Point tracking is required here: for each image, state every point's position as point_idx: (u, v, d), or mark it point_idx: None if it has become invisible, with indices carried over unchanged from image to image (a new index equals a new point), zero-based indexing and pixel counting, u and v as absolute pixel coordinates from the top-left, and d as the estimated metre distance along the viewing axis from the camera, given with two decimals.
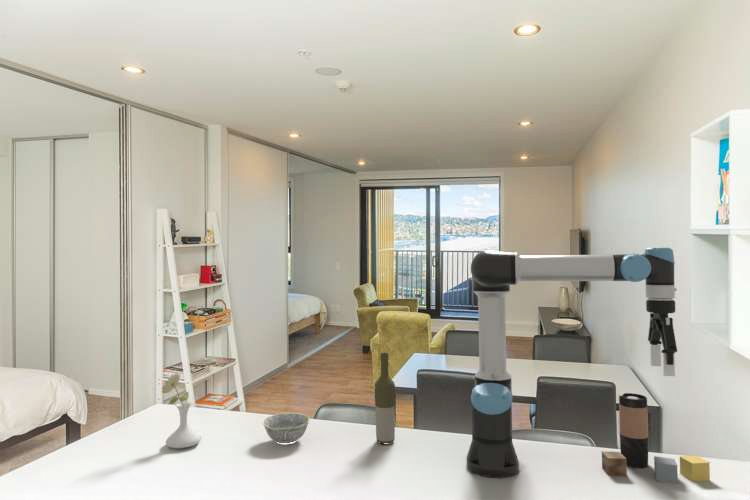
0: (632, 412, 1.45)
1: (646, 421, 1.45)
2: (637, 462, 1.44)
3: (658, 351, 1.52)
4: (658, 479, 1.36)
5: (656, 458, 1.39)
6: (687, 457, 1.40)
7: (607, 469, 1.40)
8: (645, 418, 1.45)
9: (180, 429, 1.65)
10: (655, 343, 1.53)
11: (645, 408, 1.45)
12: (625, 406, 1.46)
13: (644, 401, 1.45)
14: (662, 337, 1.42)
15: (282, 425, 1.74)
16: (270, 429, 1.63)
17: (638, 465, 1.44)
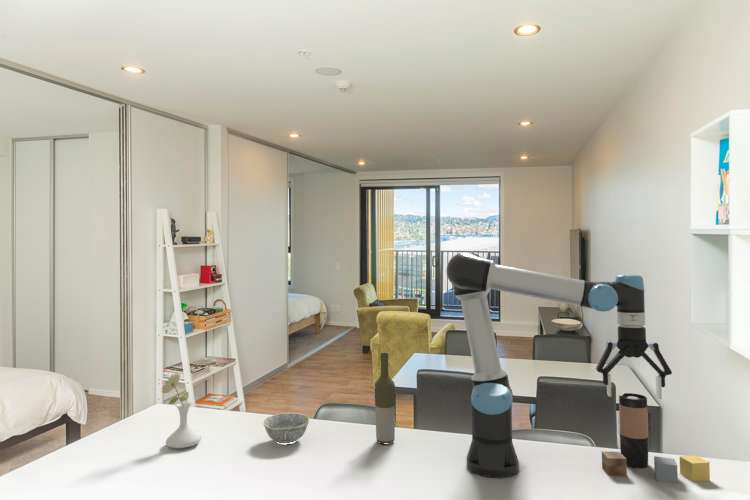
0: (632, 412, 1.45)
1: (646, 421, 1.45)
2: (637, 462, 1.44)
3: (657, 383, 1.46)
4: (658, 479, 1.36)
5: (656, 458, 1.39)
6: (687, 457, 1.39)
7: (607, 469, 1.40)
8: (645, 418, 1.45)
9: (180, 429, 1.65)
10: (659, 374, 1.46)
11: (645, 408, 1.45)
12: (625, 406, 1.46)
13: (644, 401, 1.45)
14: None
15: (282, 425, 1.74)
16: (270, 429, 1.63)
17: (638, 465, 1.44)
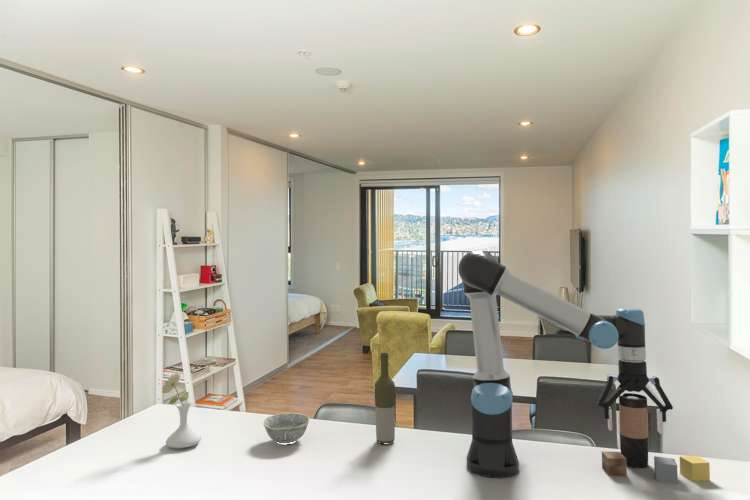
0: (632, 412, 1.45)
1: (646, 421, 1.45)
2: (637, 462, 1.44)
3: (658, 417, 1.45)
4: (658, 479, 1.36)
5: (656, 458, 1.39)
6: (687, 457, 1.40)
7: (607, 469, 1.40)
8: (645, 418, 1.45)
9: (180, 429, 1.65)
10: (660, 409, 1.46)
11: (645, 408, 1.45)
12: (625, 406, 1.46)
13: (644, 401, 1.45)
14: (612, 393, 1.51)
15: (282, 425, 1.74)
16: (270, 429, 1.63)
17: (638, 465, 1.44)
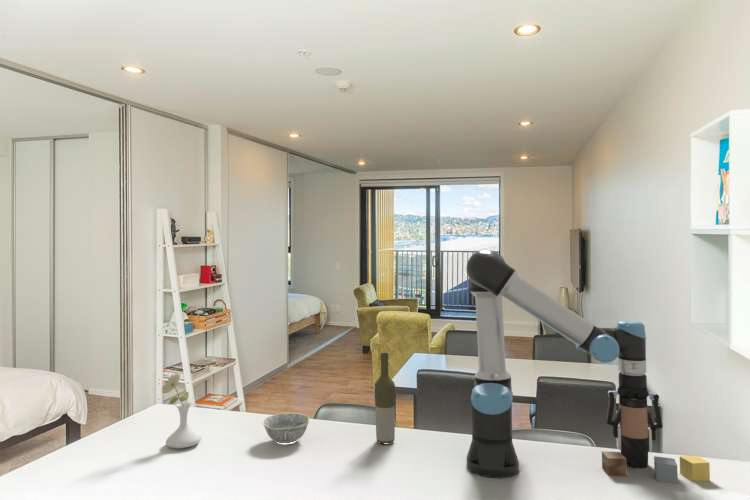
0: (632, 412, 1.45)
1: (646, 421, 1.45)
2: (637, 462, 1.44)
3: (648, 436, 1.46)
4: (658, 479, 1.36)
5: (656, 458, 1.39)
6: (687, 457, 1.39)
7: (607, 469, 1.40)
8: (645, 418, 1.45)
9: (180, 429, 1.65)
10: (650, 426, 1.47)
11: (645, 408, 1.45)
12: (625, 406, 1.46)
13: (644, 401, 1.45)
14: (617, 410, 1.50)
15: (282, 425, 1.74)
16: (270, 429, 1.63)
17: (638, 465, 1.44)
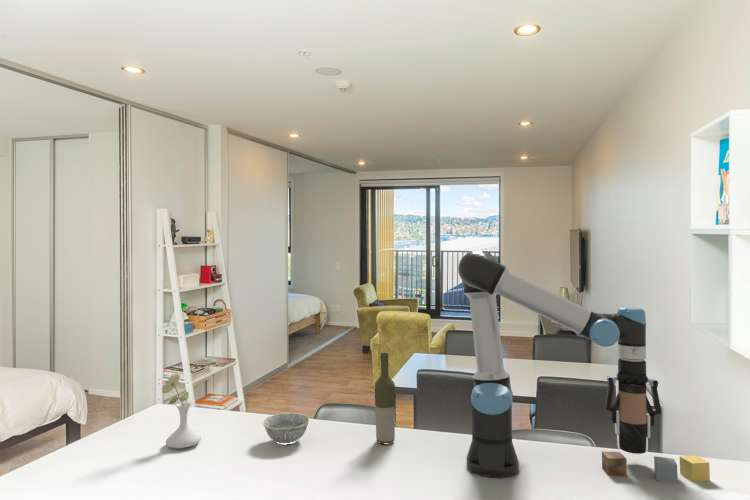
0: (631, 397, 1.45)
1: (645, 407, 1.45)
2: (635, 448, 1.44)
3: (647, 421, 1.46)
4: (658, 479, 1.36)
5: (656, 458, 1.39)
6: (687, 457, 1.40)
7: (607, 469, 1.40)
8: (644, 403, 1.45)
9: (180, 429, 1.65)
10: (648, 412, 1.47)
11: (644, 394, 1.45)
12: (624, 392, 1.46)
13: (643, 387, 1.45)
14: None
15: (282, 425, 1.74)
16: (270, 429, 1.63)
17: (636, 450, 1.44)
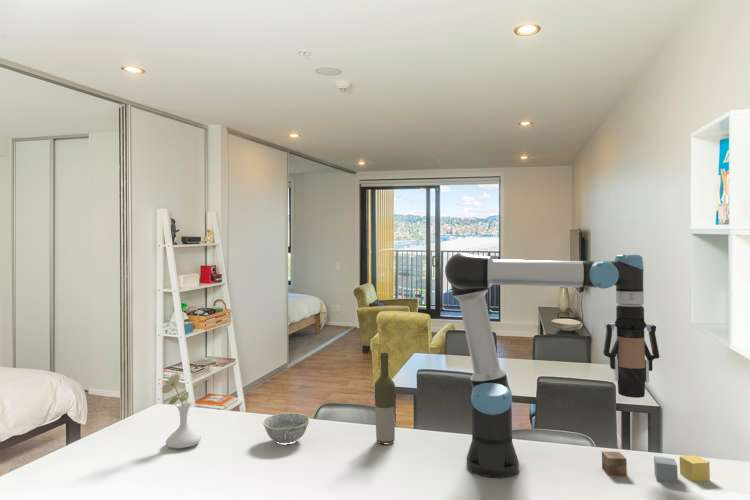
0: (630, 342, 1.46)
1: (643, 351, 1.46)
2: (634, 392, 1.46)
3: (645, 366, 1.47)
4: (658, 479, 1.36)
5: (656, 458, 1.39)
6: (687, 457, 1.39)
7: (607, 469, 1.40)
8: (642, 348, 1.46)
9: (180, 429, 1.65)
10: (647, 357, 1.48)
11: (642, 338, 1.46)
12: (622, 337, 1.48)
13: (641, 331, 1.46)
14: None
15: (282, 425, 1.74)
16: (270, 429, 1.63)
17: (635, 394, 1.45)
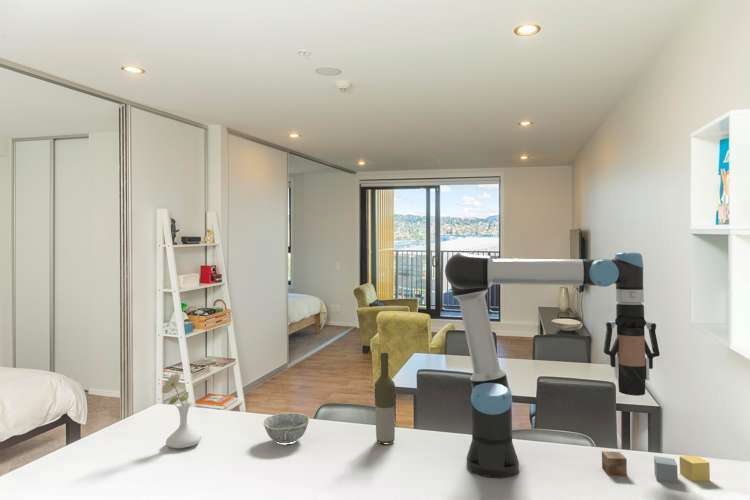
0: (630, 340, 1.46)
1: (643, 349, 1.46)
2: (634, 390, 1.46)
3: None
4: (658, 479, 1.36)
5: (656, 458, 1.39)
6: (687, 457, 1.40)
7: (607, 469, 1.40)
8: (643, 346, 1.46)
9: (180, 429, 1.65)
10: (647, 355, 1.48)
11: (642, 336, 1.46)
12: (622, 335, 1.48)
13: (641, 329, 1.46)
14: (615, 340, 1.52)
15: (282, 425, 1.74)
16: (270, 429, 1.63)
17: (635, 392, 1.46)
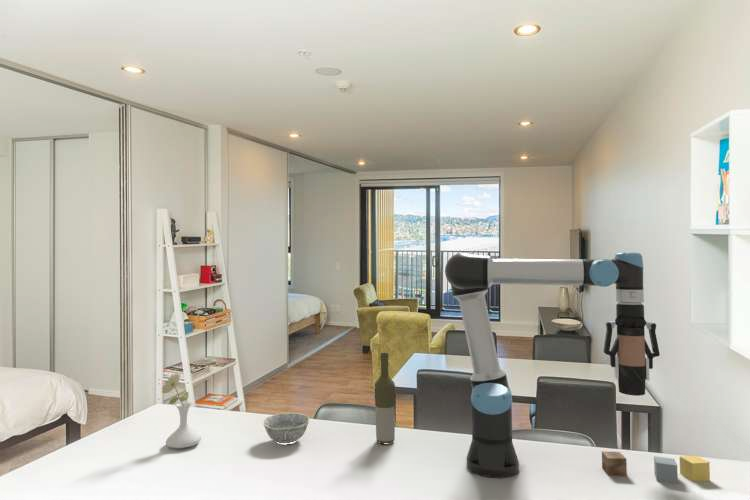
0: (630, 340, 1.46)
1: (643, 349, 1.46)
2: (634, 390, 1.46)
3: None
4: (658, 479, 1.36)
5: (656, 458, 1.39)
6: (687, 457, 1.39)
7: (607, 469, 1.40)
8: (643, 346, 1.46)
9: (180, 429, 1.65)
10: (647, 355, 1.48)
11: (642, 336, 1.46)
12: (622, 335, 1.48)
13: (641, 329, 1.46)
14: (615, 340, 1.52)
15: (282, 425, 1.74)
16: (270, 429, 1.63)
17: (635, 392, 1.46)
